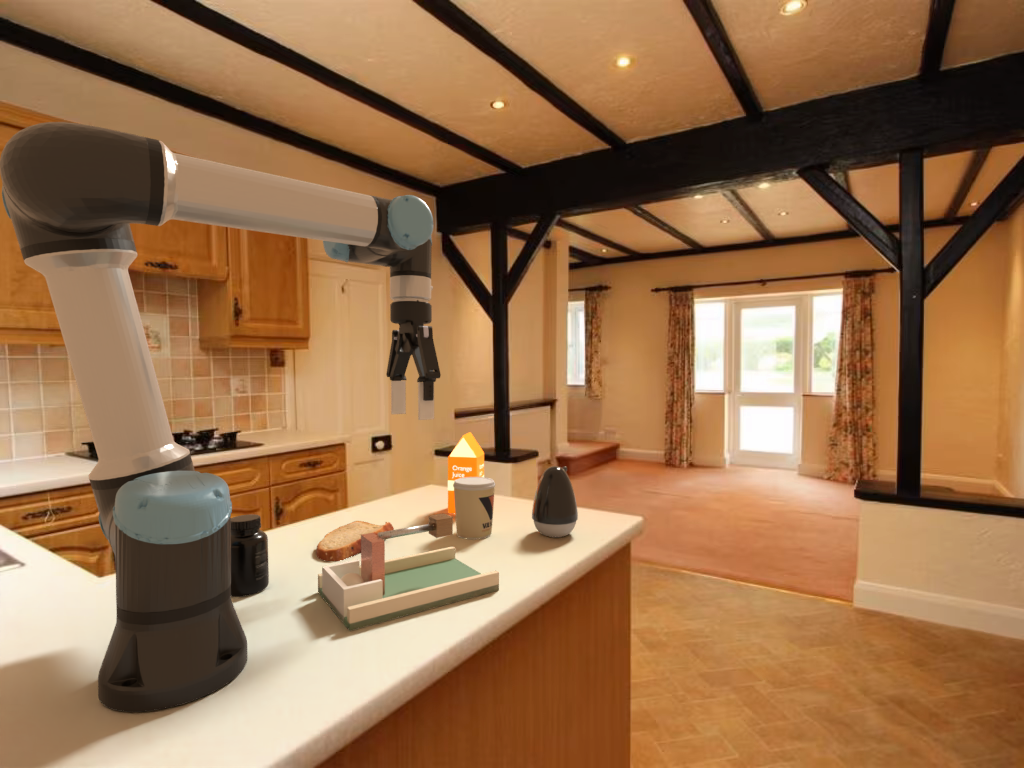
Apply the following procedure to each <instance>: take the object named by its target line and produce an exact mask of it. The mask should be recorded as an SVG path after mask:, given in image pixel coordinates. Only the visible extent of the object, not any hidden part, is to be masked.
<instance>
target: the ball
mask: <svg viewBox="0 0 1024 768" xmlns="http://www.w3.org/2000/svg"><path fill="white" fill-rule="evenodd" d="M341 580H342V581H343V582H344V583H345V584H346V585H347V586H352V585H357V584H361V583H364V581H363V578H362V577H361V576H360V575H359V574H356V573H348V574H345V575H344V576H343V577H342V578H341Z"/></svg>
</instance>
